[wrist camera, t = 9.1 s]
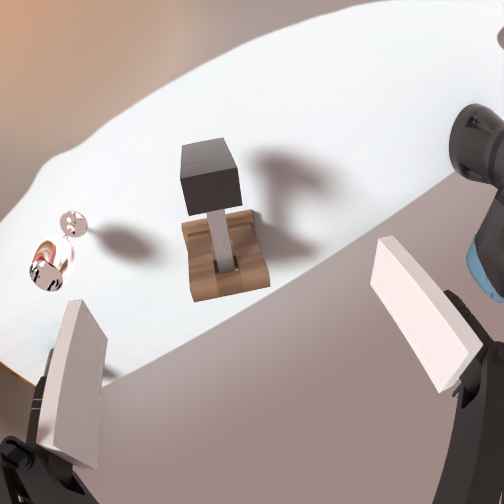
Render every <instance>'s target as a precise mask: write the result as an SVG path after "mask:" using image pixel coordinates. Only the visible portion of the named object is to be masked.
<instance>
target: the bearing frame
mask: <svg viewBox="0 0 504 504" xmlns="http://www.w3.org/2000/svg"><path fill="white" fill-rule="evenodd" d="M225 216H226V222H227V228H228V233H229V239H230V245H231V250H232V256H233V261H234V267H235V271H232V272H227V273H222V274H220V273H219V268H218V264H217V259H216V255H215V250H214V246H213V241H212V236H211V232H210V227H209V222H208V218H205V219H200V220H196V221H191V222H186V223H182V232H183V236H184V239H185V243H186V247H187V250H188V263H189V283H190V291H191V295H192V298H193V301H194V302H198V301H204V300H209V299H214V298H219V297H223V296H228V295H233V294H238V293H243V292H247V291H252V290H257V289H261V288H266V287H270V278H269V272H268V269H267V266H266V264H265V261H264V259H263V256H262V253H261V251H260V248H259V245H258V243H257V240H256V237H255V228H254V220H253V214H252V211H251V210H246V211H241V212H236V213H230V214H225ZM237 268H238V269H239V270H237ZM216 274H217V275H216Z"/></svg>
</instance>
